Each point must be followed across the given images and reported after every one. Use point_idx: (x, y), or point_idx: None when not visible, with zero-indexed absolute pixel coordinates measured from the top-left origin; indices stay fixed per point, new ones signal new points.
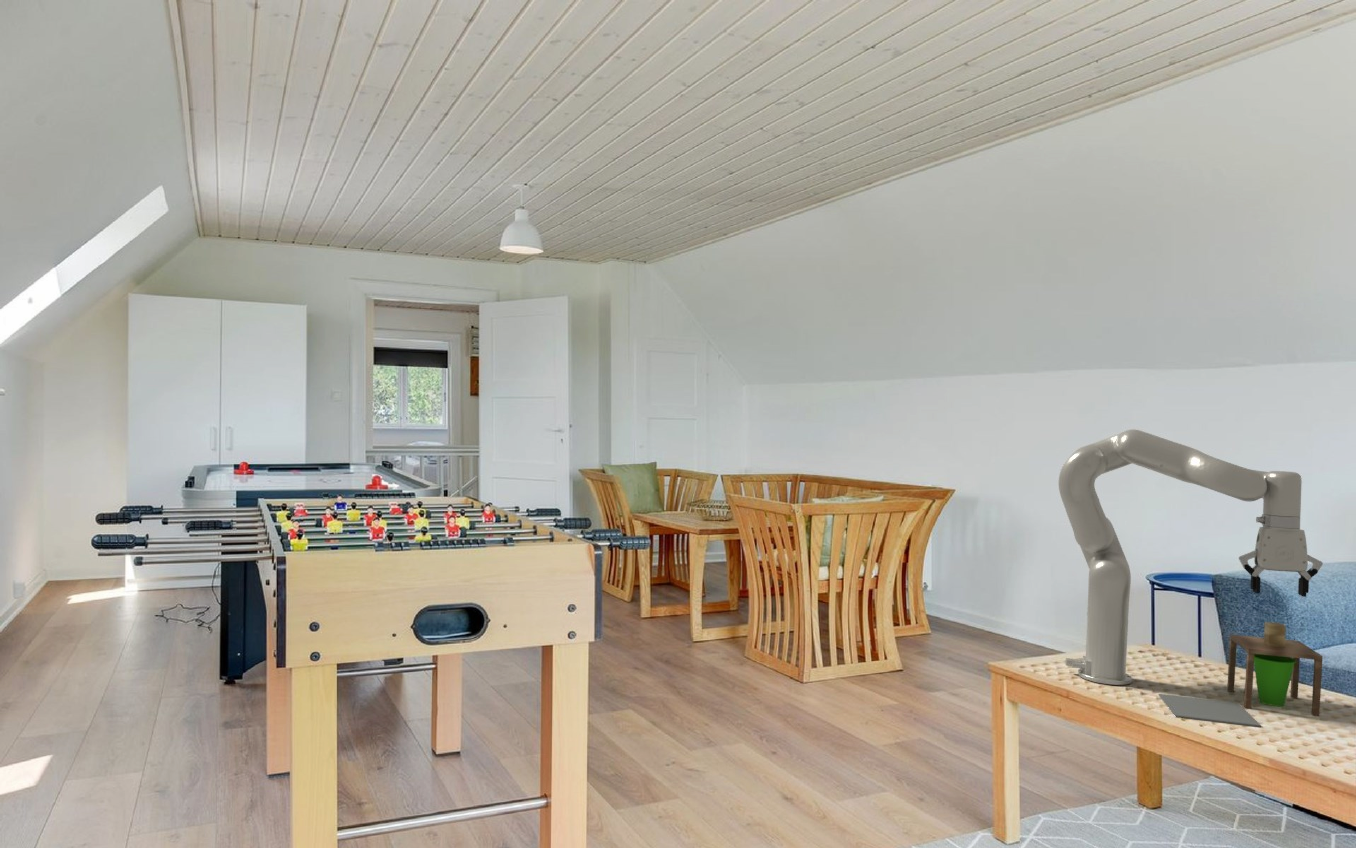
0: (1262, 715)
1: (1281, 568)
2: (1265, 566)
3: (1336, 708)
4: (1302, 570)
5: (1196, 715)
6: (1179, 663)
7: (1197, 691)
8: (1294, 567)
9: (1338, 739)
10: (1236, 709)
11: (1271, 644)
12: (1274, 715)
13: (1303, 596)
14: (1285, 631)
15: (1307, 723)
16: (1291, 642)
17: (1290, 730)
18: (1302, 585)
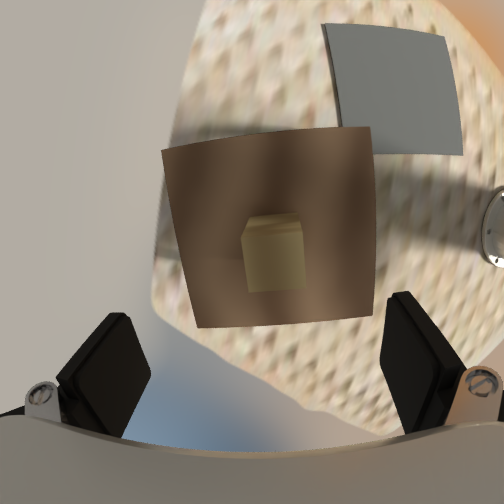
0: (311, 98)
1: (238, 479)
2: (491, 444)
3: (169, 228)
4: (15, 417)
5: (419, 42)
6: (369, 384)
7: (398, 218)
8: (56, 465)
9: (207, 24)
10: (355, 102)
11: (289, 214)
12: (289, 110)
13: (125, 314)
14: (244, 231)
15: (238, 87)
16: (218, 300)
17: (277, 30)
18: (99, 364)
